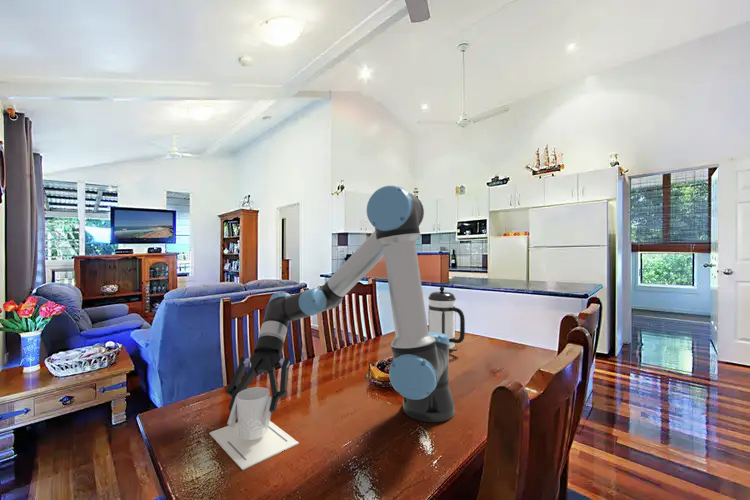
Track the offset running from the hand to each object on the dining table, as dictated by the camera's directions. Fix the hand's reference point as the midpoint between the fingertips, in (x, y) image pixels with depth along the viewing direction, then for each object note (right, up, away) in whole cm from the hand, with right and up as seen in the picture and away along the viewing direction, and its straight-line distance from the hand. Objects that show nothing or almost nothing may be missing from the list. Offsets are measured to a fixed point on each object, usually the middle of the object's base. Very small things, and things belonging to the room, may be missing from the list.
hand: (247, 425), depth 81 cm
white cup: (0, -4, +3) cm, 5 cm away
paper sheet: (0, -5, +3) cm, 6 cm away
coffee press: (+64, -5, +78) cm, 101 cm away
